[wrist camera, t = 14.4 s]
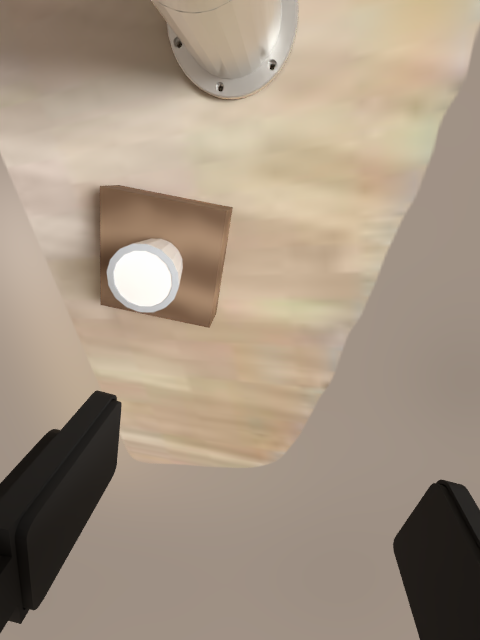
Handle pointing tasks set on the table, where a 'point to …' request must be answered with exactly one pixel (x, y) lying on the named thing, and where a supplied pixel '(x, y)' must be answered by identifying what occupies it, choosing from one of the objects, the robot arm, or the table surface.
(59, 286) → the table surface
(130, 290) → the shot glass
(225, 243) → the walnut block
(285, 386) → the table surface
